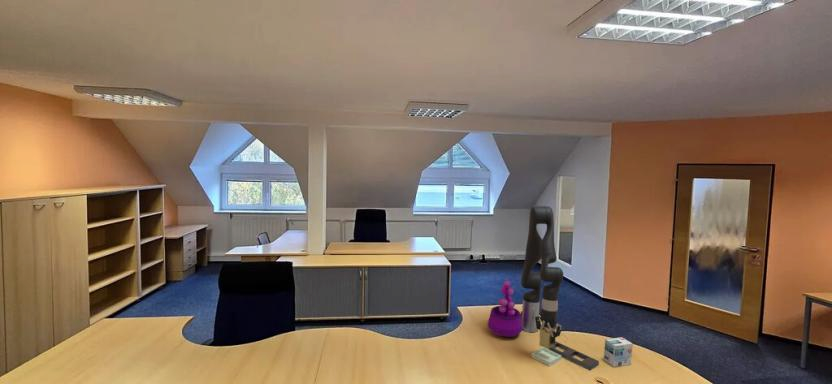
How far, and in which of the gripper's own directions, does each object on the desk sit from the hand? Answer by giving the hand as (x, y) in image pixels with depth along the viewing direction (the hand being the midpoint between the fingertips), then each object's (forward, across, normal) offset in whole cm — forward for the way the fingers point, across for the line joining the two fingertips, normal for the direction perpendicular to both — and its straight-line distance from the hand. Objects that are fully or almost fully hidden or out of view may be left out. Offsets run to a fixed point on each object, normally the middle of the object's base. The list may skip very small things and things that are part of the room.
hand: (547, 340), depth 180 cm
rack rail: (+9, +6, +12) cm, 16 cm away
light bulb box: (+9, +22, +26) cm, 35 cm away
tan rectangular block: (+2, 0, 0) cm, 2 cm away
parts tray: (+9, 0, 0) cm, 9 cm away
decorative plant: (+9, -29, +4) cm, 31 cm away
